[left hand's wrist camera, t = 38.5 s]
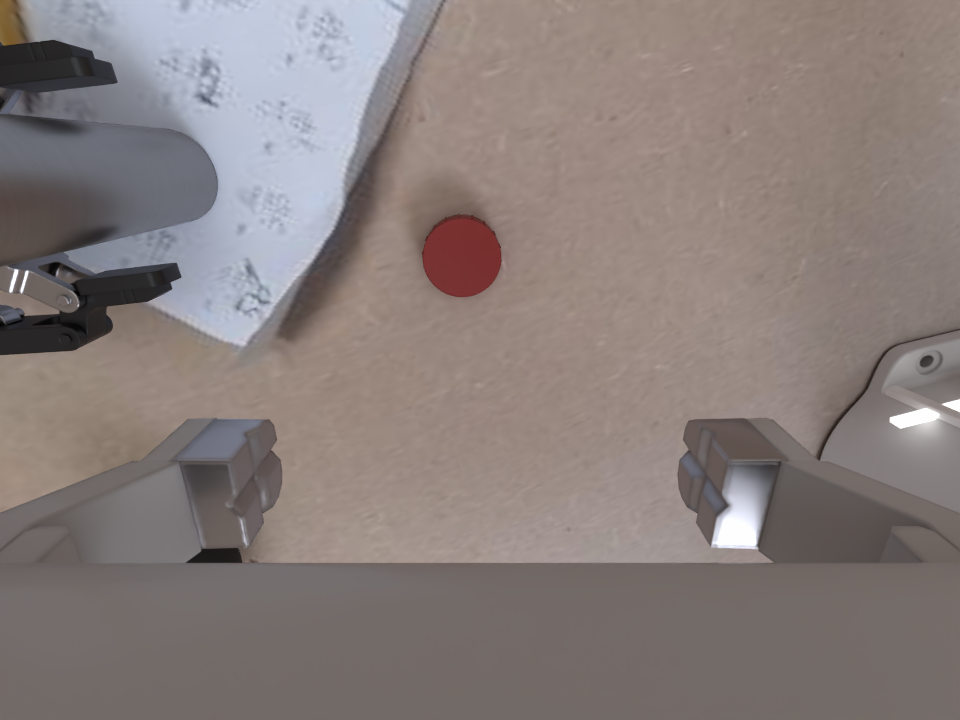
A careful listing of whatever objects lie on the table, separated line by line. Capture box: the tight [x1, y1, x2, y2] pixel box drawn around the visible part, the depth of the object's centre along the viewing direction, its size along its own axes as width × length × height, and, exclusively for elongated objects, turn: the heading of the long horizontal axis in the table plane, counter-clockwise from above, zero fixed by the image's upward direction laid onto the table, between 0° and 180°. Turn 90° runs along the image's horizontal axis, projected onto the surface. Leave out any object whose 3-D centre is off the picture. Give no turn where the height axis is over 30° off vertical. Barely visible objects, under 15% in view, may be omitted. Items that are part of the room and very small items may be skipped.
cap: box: [422, 214, 501, 297], centre depth 30 cm, size 4×4×2 cm
